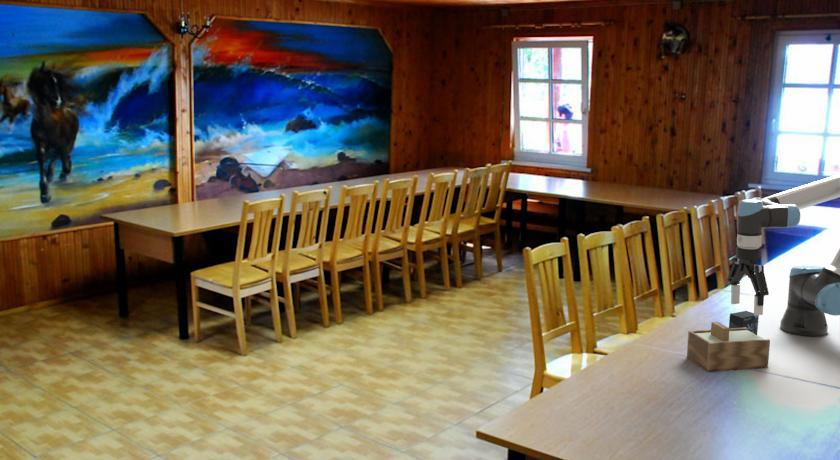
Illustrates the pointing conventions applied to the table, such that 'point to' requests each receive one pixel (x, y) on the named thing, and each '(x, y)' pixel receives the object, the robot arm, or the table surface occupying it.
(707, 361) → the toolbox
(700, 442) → the table surface
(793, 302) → the robot arm
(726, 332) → the lid
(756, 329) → the box
